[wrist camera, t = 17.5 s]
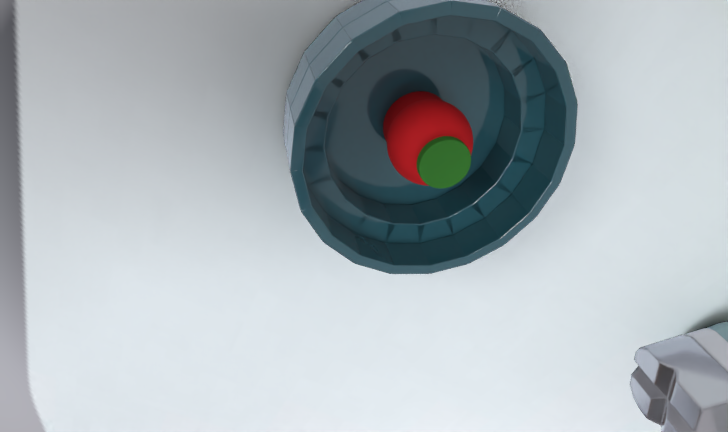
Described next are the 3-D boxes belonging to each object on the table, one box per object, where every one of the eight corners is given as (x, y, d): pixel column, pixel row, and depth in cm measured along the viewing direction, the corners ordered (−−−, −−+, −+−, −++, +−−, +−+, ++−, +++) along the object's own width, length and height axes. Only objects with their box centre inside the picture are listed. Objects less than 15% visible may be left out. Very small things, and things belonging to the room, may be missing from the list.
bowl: (313, 248, 34) (324, 301, 30) (252, 15, 26) (255, 42, 22) (529, 194, 35) (569, 238, 31) (533, -45, 27) (587, -30, 23)
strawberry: (383, 167, 31) (406, 213, 27) (371, 95, 29) (395, 133, 24) (456, 150, 31) (490, 193, 27) (451, 77, 29) (488, 111, 25)
